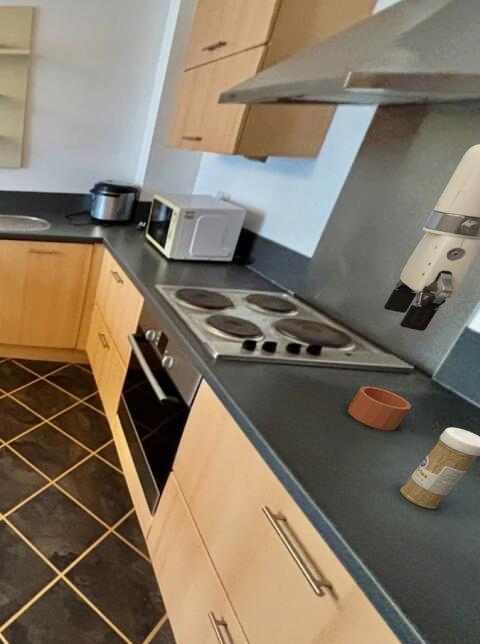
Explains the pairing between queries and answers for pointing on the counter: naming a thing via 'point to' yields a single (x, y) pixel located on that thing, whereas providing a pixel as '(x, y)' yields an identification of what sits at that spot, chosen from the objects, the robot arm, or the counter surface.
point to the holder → (378, 408)
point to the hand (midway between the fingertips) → (402, 319)
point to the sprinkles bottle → (442, 467)
